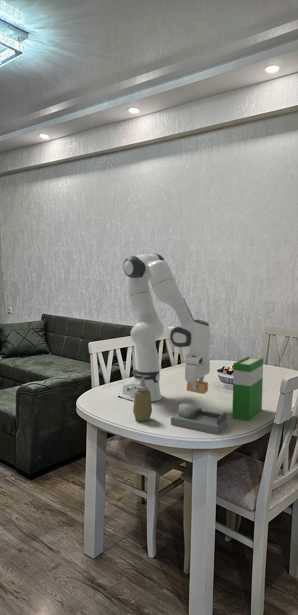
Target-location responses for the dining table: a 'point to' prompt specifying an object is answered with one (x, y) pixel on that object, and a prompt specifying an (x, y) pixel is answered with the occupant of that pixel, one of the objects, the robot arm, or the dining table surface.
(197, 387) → the chute
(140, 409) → the squeeze bottle
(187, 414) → the panel with grey ball
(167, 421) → the dining table surface
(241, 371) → the hardback book
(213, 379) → the dining table surface
